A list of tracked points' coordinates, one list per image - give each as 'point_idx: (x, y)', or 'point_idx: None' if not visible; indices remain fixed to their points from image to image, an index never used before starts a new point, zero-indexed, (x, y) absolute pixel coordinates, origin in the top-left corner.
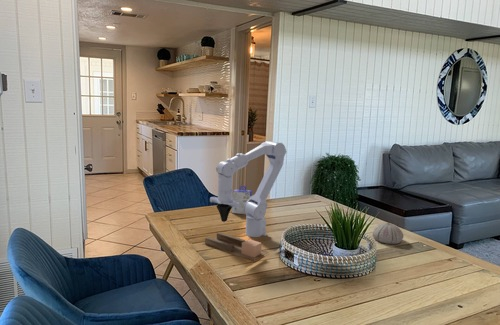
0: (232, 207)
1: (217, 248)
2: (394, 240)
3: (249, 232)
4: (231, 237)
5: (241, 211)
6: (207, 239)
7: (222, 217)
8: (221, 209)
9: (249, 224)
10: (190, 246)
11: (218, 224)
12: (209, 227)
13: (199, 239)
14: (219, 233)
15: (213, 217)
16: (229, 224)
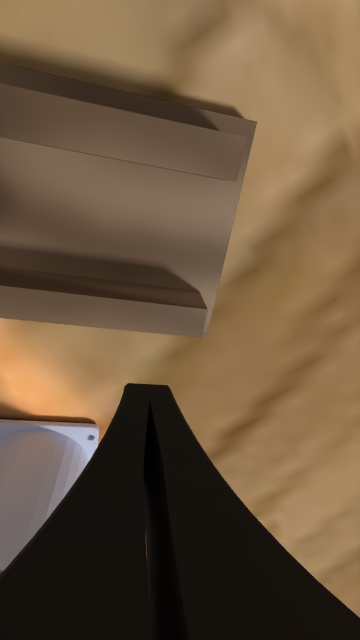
0: None
1: (71, 93)
2: None
3: (23, 457)
4: (40, 295)
5: None
6: (215, 130)
7: (147, 420)
8: (176, 591)
9: (2, 517)
10: (337, 61)
11: (301, 481)
12: (331, 431)
13: (321, 246)
14: (185, 318)
15: (357, 525)
16: (249, 506)
